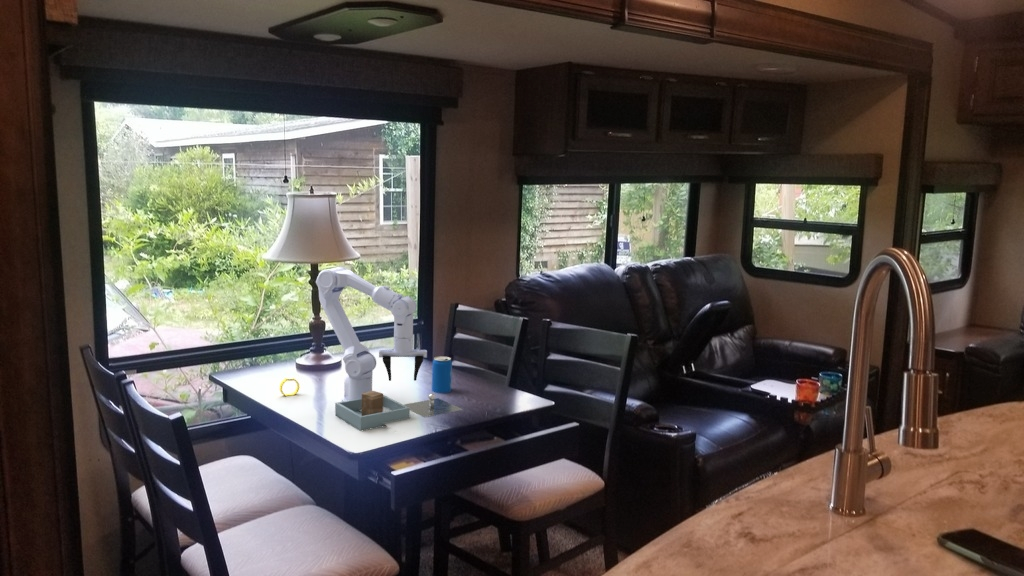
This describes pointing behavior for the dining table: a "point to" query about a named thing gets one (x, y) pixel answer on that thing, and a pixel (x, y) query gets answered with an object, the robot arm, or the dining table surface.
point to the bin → (354, 416)
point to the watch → (289, 380)
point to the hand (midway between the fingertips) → (402, 379)
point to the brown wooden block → (372, 403)
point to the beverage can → (441, 374)
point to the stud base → (432, 407)
